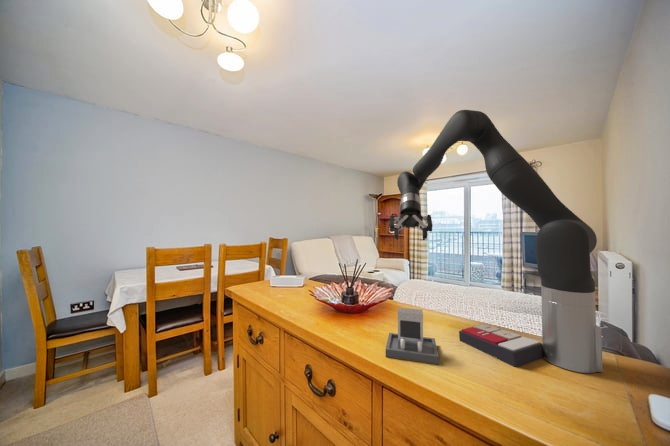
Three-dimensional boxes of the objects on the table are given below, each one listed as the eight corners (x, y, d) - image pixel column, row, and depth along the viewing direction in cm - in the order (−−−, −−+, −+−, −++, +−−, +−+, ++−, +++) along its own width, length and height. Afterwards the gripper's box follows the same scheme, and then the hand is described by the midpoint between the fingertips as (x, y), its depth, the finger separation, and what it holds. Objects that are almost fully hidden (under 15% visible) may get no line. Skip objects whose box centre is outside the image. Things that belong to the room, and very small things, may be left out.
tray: (434, 345, 66) (434, 330, 66) (438, 364, 57) (438, 346, 57) (389, 339, 70) (389, 324, 70) (385, 356, 60) (385, 340, 60)
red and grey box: (484, 322, 74) (543, 340, 60) (485, 337, 73) (544, 358, 60) (458, 328, 69) (514, 349, 56) (458, 344, 69) (516, 368, 55)
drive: (422, 344, 65) (422, 309, 65) (423, 351, 61) (422, 314, 61) (398, 341, 66) (398, 307, 67) (397, 348, 62) (397, 312, 63)
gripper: (390, 200, 93) (388, 230, 82) (430, 198, 89) (434, 230, 78) (391, 214, 98) (389, 245, 87) (429, 214, 94) (432, 246, 83)
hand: (410, 238), depth 82 cm, fingers open, 8 cm apart
